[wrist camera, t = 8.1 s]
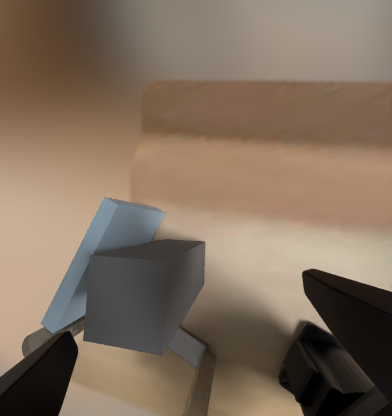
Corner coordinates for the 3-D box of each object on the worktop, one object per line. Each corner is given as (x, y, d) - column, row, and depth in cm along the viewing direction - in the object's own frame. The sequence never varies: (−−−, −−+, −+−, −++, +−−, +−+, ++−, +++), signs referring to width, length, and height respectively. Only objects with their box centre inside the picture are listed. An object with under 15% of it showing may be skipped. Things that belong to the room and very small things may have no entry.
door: (125, 291, 22) (52, 333, 14) (106, 278, 23) (25, 310, 14) (165, 212, 22) (118, 204, 13) (145, 201, 23) (87, 187, 14)
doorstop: (205, 241, 22) (167, 261, 10) (203, 283, 21) (162, 355, 10) (166, 239, 23) (89, 255, 11) (164, 279, 22) (83, 340, 11)
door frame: (218, 352, 20) (201, 469, 11) (207, 373, 20) (180, 508, 11) (117, 283, 23) (31, 325, 14) (108, 301, 23) (16, 355, 14)
